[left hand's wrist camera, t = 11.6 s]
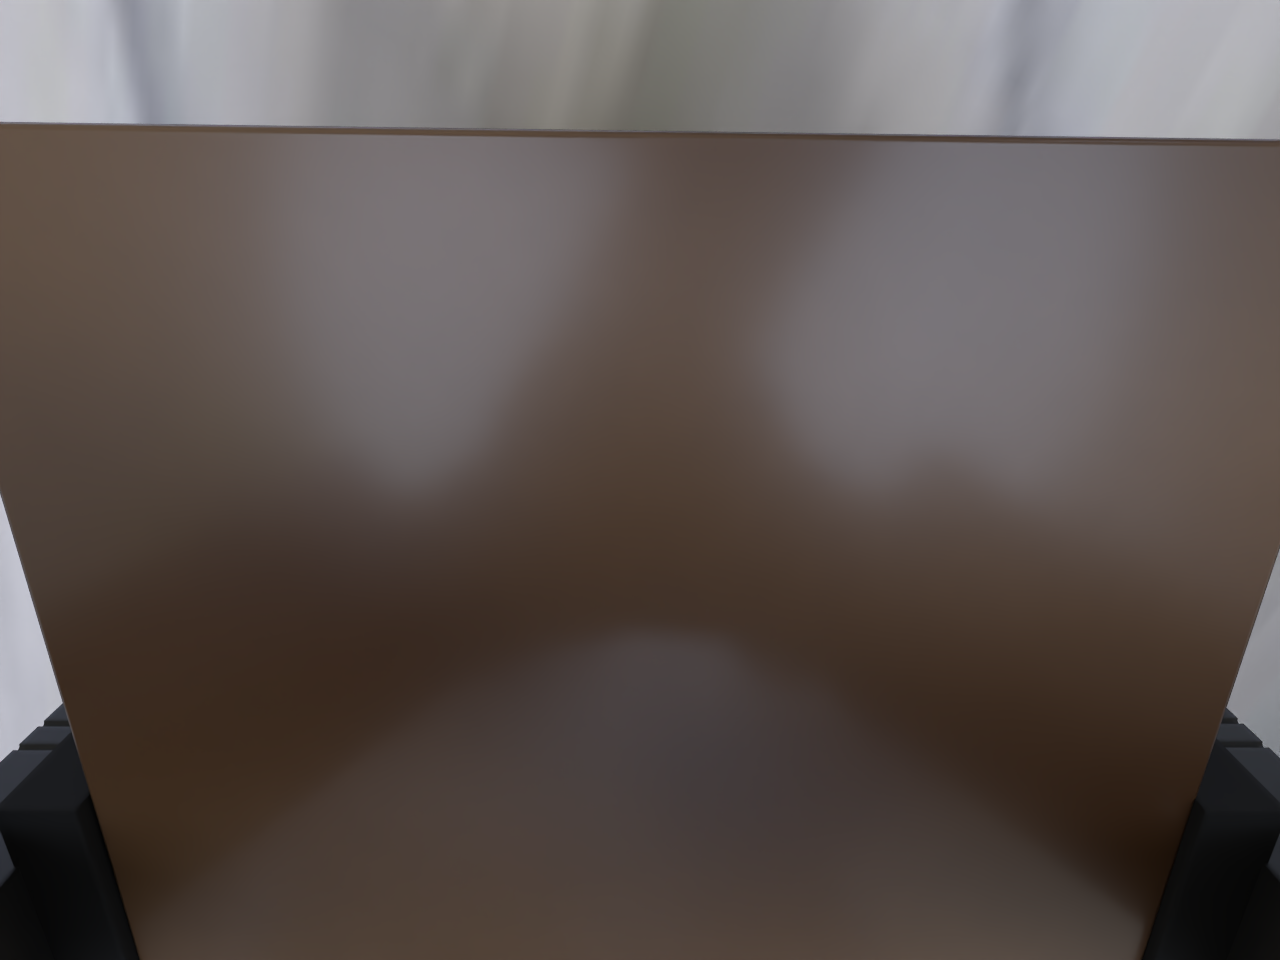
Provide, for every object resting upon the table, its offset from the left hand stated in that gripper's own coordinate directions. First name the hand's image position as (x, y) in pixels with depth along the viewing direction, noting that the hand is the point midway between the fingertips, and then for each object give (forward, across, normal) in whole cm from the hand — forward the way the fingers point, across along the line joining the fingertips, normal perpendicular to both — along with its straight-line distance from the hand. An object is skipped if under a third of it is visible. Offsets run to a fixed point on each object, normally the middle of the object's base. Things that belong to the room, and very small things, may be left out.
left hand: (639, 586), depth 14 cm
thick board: (+1, 0, -20) cm, 20 cm away
